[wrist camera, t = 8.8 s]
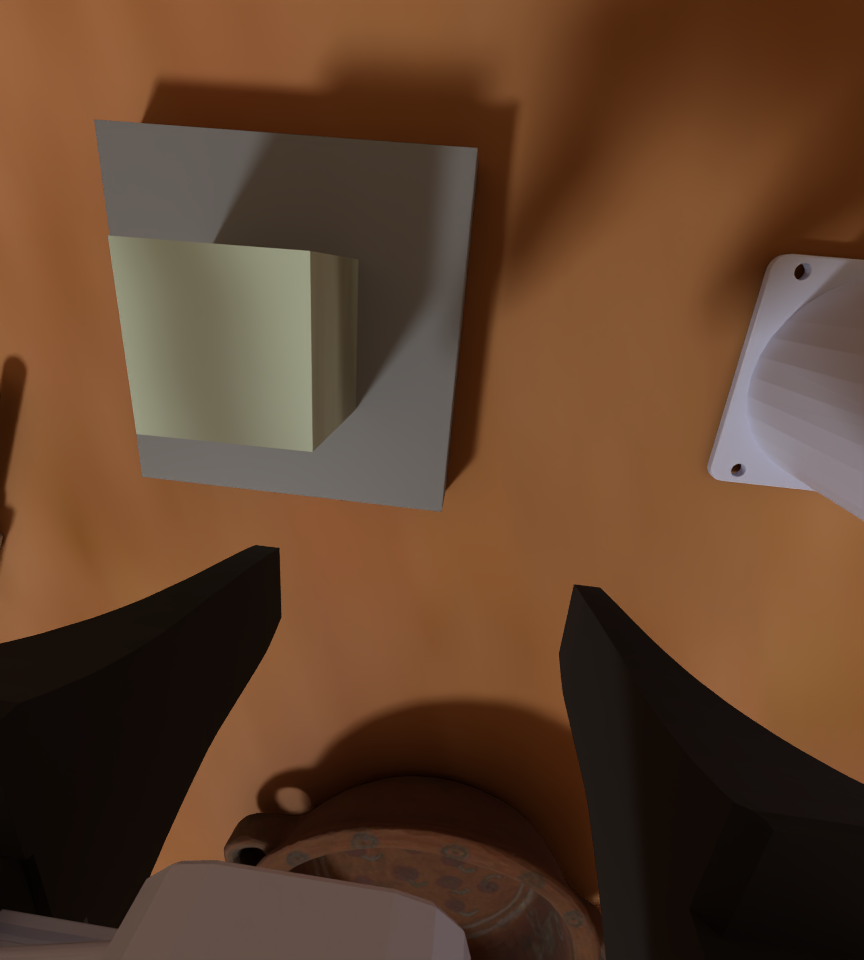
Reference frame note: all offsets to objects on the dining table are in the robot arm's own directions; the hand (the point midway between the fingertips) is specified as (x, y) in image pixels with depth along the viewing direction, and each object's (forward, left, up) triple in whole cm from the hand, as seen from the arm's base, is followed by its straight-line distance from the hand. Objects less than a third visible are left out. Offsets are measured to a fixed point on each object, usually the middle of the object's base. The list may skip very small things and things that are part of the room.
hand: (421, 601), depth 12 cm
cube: (+6, -5, -7) cm, 11 cm away
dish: (-1, +24, -10) cm, 26 cm away
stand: (+6, -5, -9) cm, 12 cm away
